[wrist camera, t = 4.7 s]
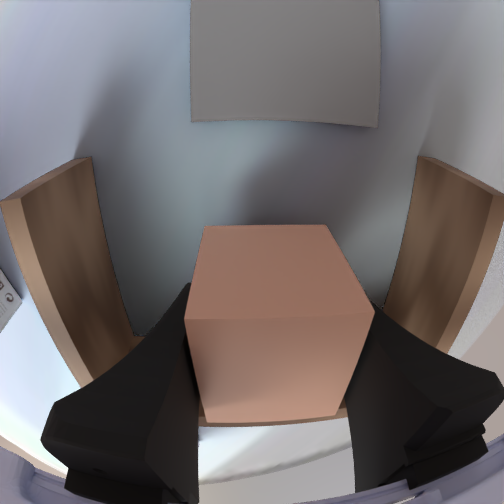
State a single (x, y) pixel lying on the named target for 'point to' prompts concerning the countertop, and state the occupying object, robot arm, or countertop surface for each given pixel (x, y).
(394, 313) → the open box
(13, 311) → the skincare box
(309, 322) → the block
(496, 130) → the countertop surface
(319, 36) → the mat
